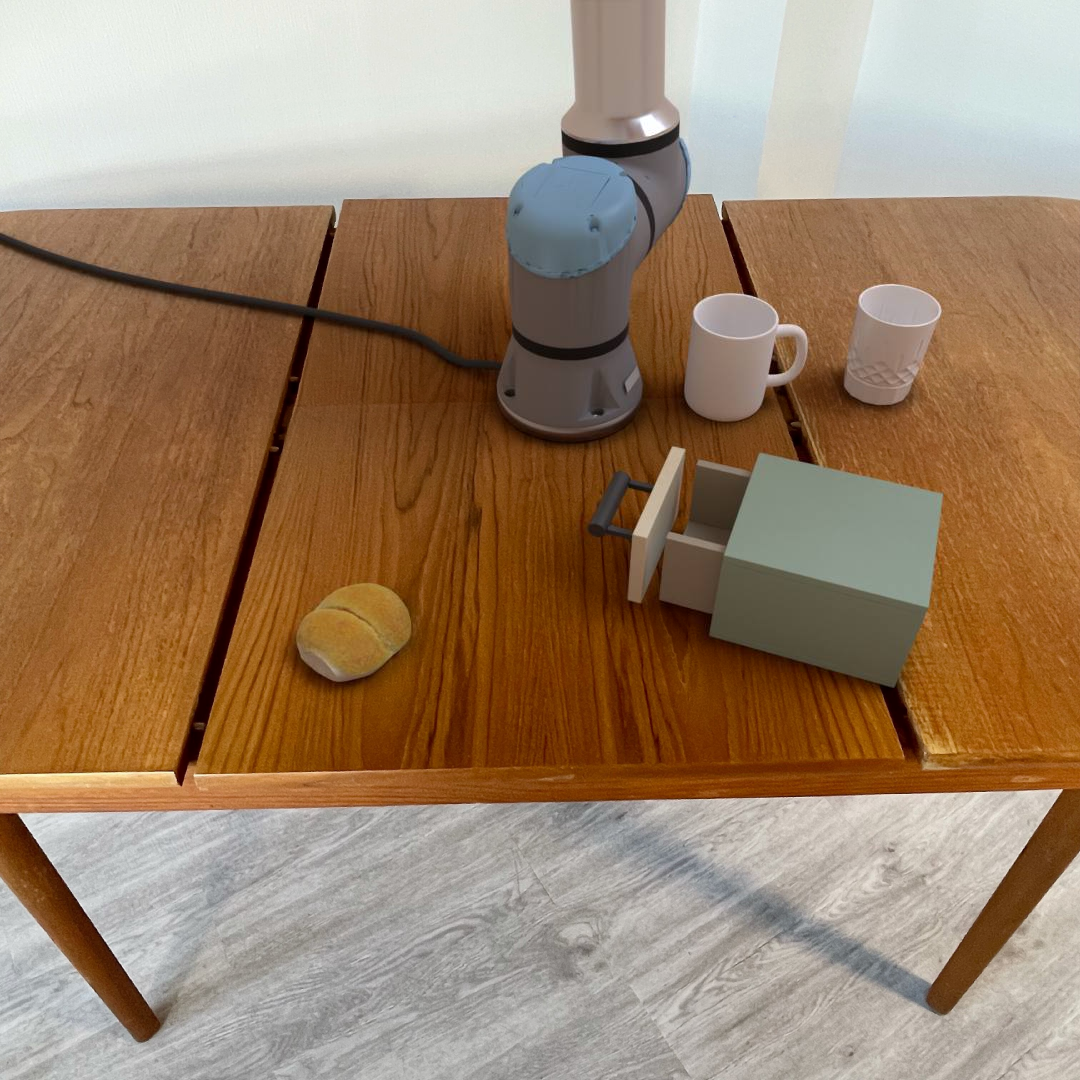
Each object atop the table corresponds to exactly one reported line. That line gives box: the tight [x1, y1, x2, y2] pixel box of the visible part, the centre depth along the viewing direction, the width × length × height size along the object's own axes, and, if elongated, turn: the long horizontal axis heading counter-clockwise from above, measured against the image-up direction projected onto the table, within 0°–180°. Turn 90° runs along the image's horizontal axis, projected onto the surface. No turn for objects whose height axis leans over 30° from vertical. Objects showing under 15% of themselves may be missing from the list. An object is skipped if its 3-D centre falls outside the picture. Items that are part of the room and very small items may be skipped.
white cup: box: [843, 283, 942, 406], centre depth 95 cm, size 8×8×10 cm
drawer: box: [587, 446, 753, 615], centre depth 77 cm, size 18×11×8 cm, turn 69°
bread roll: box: [295, 582, 412, 683], centre depth 74 cm, size 8×9×4 cm
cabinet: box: [708, 452, 944, 688], centre depth 74 cm, size 15×13×10 cm
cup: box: [683, 292, 809, 423], centre depth 94 cm, size 8×12×10 cm
